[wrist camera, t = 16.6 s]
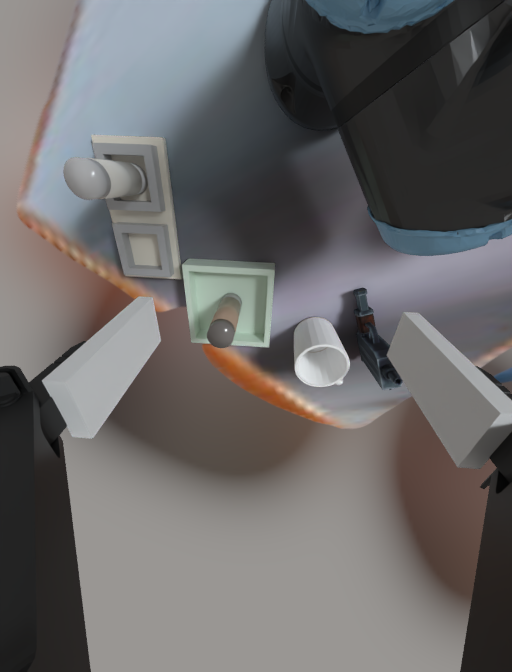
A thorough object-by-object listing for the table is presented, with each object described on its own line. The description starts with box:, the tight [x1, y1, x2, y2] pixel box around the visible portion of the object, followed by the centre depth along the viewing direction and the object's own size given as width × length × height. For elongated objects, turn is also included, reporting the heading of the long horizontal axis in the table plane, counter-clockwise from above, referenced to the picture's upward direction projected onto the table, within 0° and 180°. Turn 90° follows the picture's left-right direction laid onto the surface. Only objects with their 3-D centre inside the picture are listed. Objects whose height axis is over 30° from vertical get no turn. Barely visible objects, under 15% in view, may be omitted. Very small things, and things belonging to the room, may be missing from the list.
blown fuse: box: [207, 293, 242, 348], centre depth 42 cm, size 4×4×12 cm
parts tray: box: [182, 258, 275, 347], centre depth 46 cm, size 15×15×4 cm
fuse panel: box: [91, 135, 182, 279], centre depth 40 cm, size 20×10×3 cm, turn 178°
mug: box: [294, 317, 350, 387], centre depth 47 cm, size 11×9×10 cm
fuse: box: [63, 157, 148, 200], centre depth 32 cm, size 4×4×12 cm
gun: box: [353, 288, 403, 390], centre depth 41 cm, size 3×17×15 cm
